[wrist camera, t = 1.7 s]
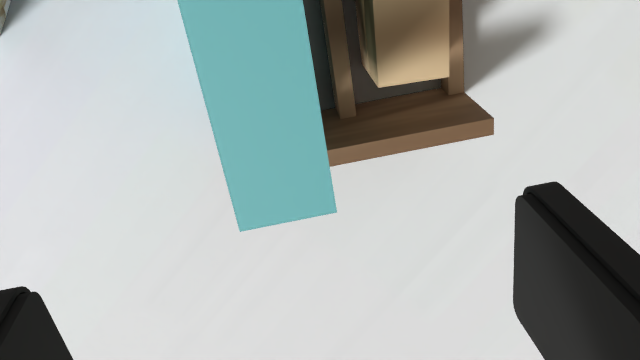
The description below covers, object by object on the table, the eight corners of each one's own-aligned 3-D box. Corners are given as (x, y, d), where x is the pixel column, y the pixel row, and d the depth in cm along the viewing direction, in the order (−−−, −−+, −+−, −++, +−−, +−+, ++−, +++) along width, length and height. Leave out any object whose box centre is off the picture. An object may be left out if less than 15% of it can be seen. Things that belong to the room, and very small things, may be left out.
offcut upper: (359, -54, 28) (369, -50, 26) (433, -64, 29) (449, -61, 26) (369, 74, 32) (378, 87, 30) (435, 64, 32) (449, 76, 30)
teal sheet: (199, -60, 29) (169, -29, 17) (272, -73, 29) (294, -51, 17) (240, 110, 34) (240, 231, 22) (302, 98, 34) (336, 212, 22)
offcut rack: (171, -98, 28) (154, -97, 23) (448, -146, 29) (494, -156, 24) (231, 142, 35) (230, 186, 30) (456, 99, 35) (493, 134, 30)
